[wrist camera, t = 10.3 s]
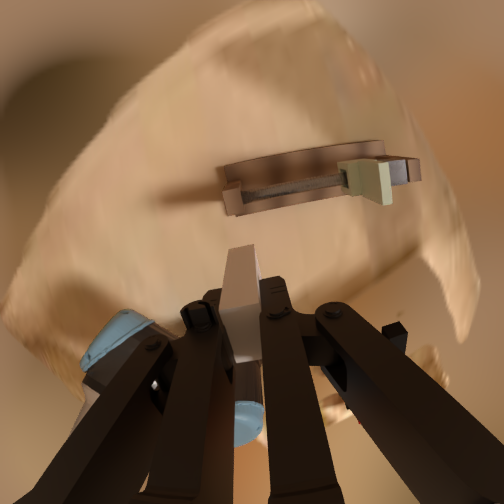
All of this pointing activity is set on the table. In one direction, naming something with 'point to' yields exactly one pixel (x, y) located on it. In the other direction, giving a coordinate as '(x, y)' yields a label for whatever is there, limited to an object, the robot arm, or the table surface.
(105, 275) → the table surface
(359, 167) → the cream t-shaped block
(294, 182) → the rod
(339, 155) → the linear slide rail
